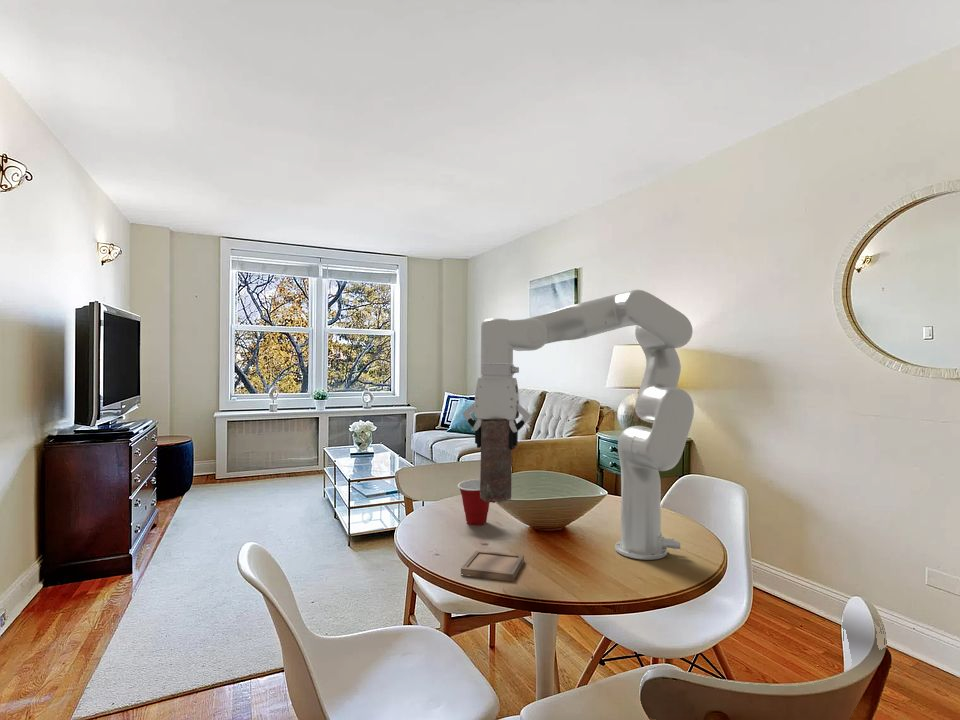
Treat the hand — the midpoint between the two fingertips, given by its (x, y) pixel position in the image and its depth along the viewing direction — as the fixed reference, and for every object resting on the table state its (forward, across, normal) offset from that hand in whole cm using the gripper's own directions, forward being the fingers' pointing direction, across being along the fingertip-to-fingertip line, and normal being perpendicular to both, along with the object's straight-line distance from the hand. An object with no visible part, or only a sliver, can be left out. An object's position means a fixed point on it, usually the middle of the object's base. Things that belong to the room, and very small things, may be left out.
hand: (496, 447), depth 124 cm
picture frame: (+28, 0, 0) cm, 28 cm away
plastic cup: (+28, +14, -32) cm, 45 cm away
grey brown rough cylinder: (+13, 0, 0) cm, 13 cm away
